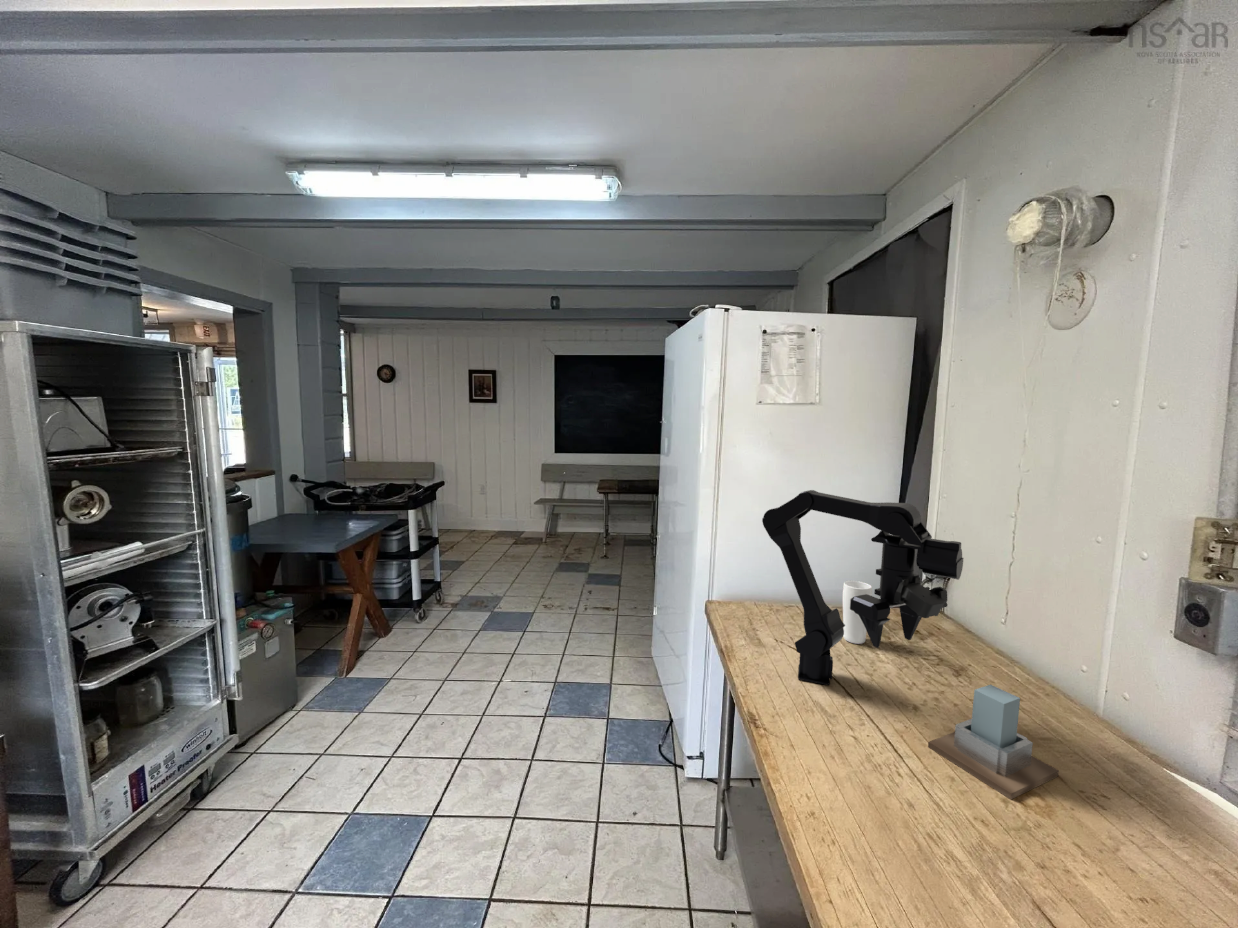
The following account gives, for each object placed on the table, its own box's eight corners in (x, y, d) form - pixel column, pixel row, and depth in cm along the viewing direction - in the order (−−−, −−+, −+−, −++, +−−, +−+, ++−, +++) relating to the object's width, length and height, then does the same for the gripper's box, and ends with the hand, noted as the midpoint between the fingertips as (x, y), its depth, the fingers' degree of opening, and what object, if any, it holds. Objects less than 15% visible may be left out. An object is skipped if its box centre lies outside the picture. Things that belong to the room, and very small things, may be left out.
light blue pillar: (997, 767, 80) (1004, 703, 79) (969, 750, 85) (974, 689, 84) (1014, 760, 82) (1020, 697, 81) (985, 743, 86) (990, 684, 85)
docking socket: (1010, 799, 75) (1013, 768, 74) (928, 746, 87) (930, 720, 86) (1058, 775, 80) (1061, 747, 80) (974, 729, 92) (976, 704, 92)
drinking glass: (835, 634, 132) (838, 580, 131) (859, 634, 133) (862, 580, 131) (848, 646, 125) (852, 589, 124) (874, 645, 126) (877, 588, 124)
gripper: (903, 585, 86) (896, 670, 87) (970, 573, 93) (963, 652, 95) (850, 567, 96) (845, 644, 98) (914, 558, 104) (909, 629, 105)
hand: (892, 642), depth 98 cm, fingers open, 9 cm apart
